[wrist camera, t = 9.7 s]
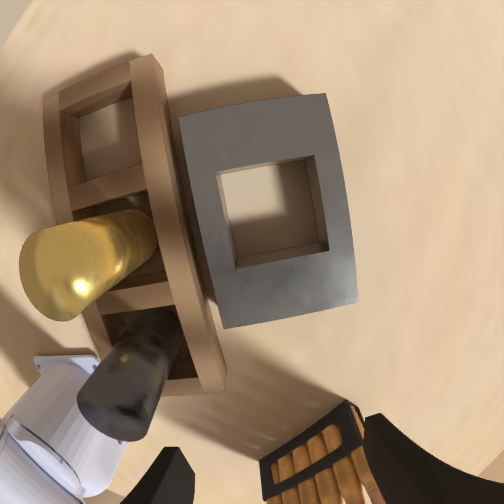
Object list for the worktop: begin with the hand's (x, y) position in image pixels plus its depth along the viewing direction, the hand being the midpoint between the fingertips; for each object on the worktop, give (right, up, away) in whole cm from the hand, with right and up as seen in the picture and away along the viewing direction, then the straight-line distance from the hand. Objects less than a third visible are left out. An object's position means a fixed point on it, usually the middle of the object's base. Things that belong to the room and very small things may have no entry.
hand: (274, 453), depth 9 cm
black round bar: (-7, +2, +10) cm, 13 cm away
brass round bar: (-9, +9, +9) cm, 15 cm away
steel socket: (0, +10, +8) cm, 13 cm away
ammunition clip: (+4, -9, +13) cm, 16 cm away
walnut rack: (-9, +9, +9) cm, 15 cm away
